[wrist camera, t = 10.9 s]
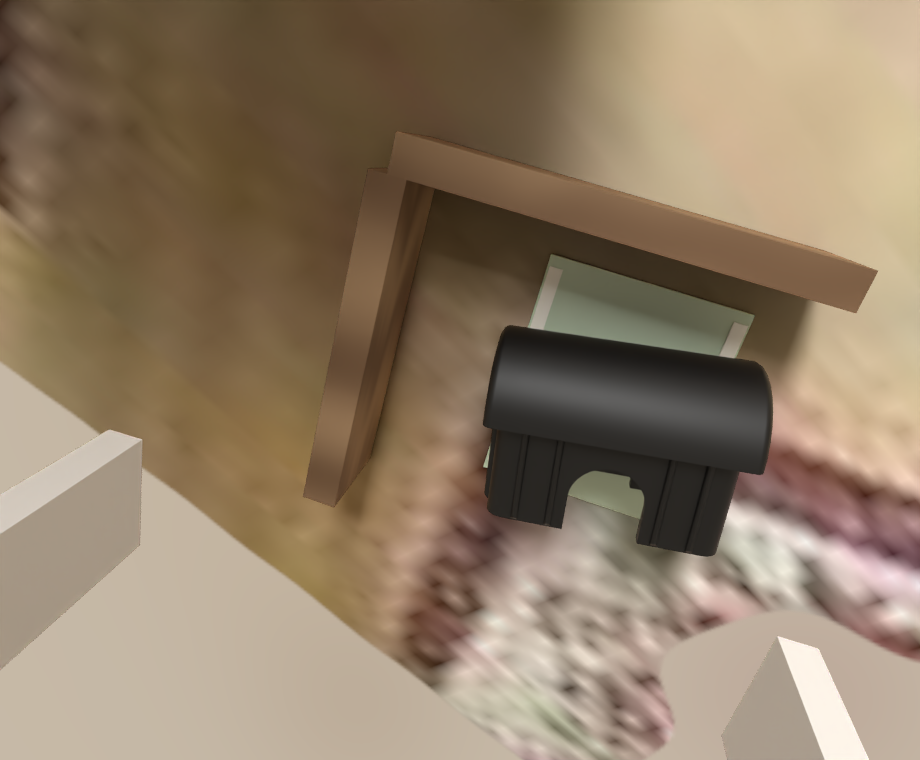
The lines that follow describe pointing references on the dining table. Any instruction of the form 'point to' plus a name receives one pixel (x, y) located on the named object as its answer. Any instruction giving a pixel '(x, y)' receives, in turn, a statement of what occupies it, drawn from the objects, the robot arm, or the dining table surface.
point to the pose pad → (629, 338)
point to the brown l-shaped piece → (536, 195)
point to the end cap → (624, 430)
